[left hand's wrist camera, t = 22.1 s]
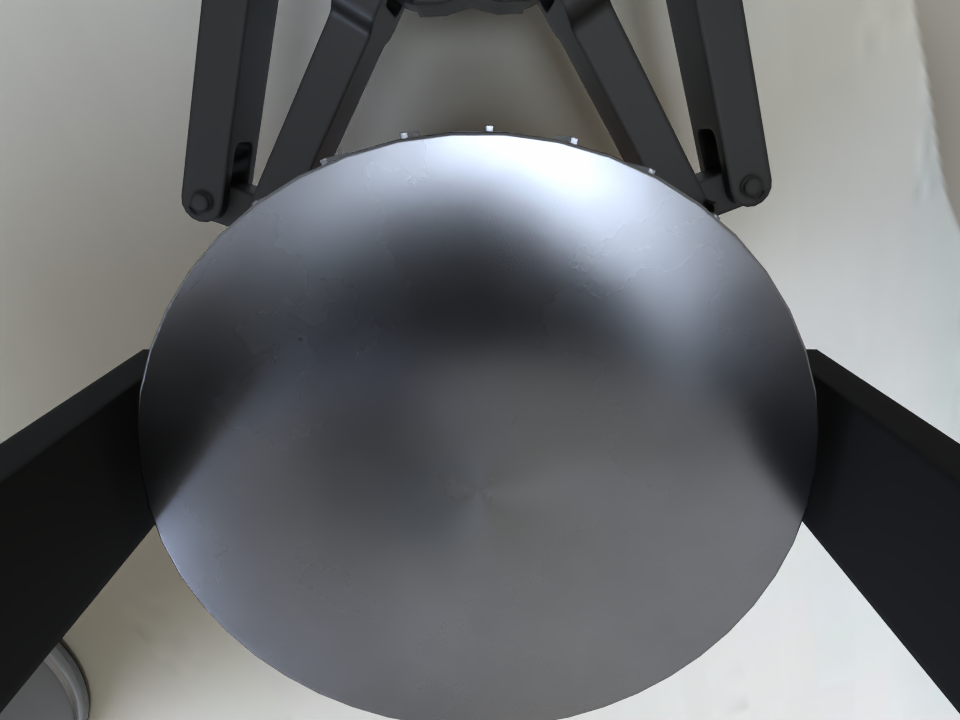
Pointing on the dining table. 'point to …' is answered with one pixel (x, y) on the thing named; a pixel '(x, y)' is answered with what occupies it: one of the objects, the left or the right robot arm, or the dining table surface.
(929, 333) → the dining table surface
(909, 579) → the left robot arm
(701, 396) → the lid
